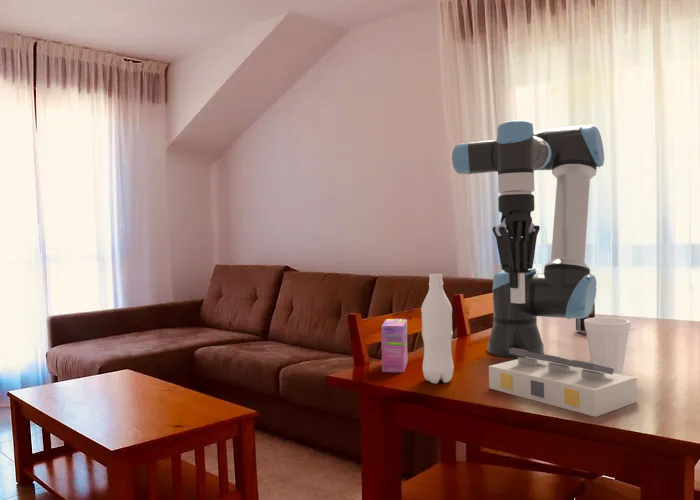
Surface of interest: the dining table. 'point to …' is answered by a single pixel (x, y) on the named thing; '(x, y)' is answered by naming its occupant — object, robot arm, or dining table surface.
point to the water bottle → (437, 332)
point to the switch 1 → (524, 353)
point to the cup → (607, 341)
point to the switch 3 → (592, 367)
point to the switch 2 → (555, 359)
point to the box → (394, 345)
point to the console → (563, 385)
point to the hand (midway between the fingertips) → (517, 302)
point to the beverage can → (580, 321)
